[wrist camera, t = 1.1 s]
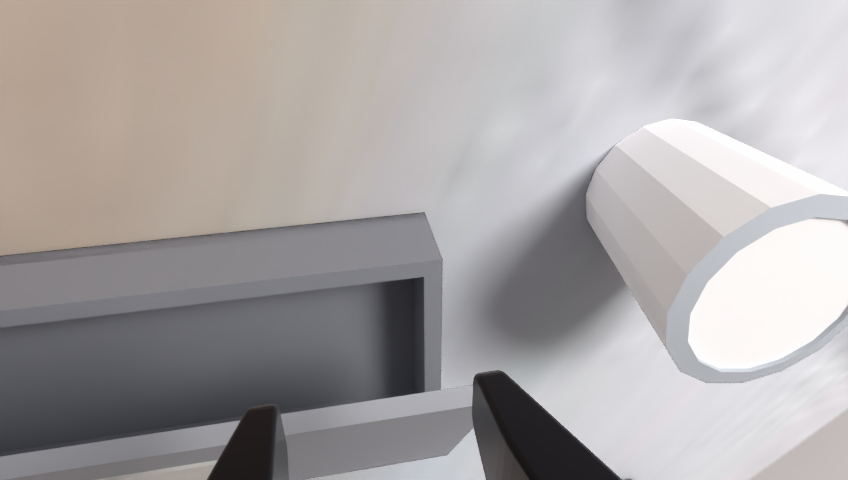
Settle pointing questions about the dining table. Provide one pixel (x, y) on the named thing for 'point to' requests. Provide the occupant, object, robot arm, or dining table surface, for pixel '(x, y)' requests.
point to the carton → (215, 328)
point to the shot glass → (723, 249)
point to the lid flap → (305, 436)
